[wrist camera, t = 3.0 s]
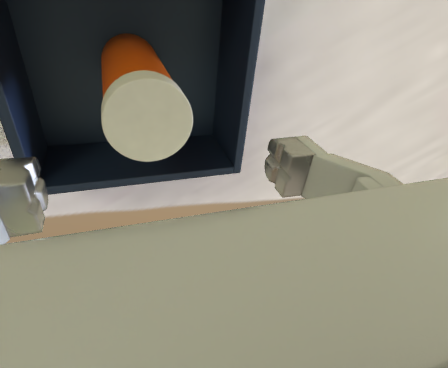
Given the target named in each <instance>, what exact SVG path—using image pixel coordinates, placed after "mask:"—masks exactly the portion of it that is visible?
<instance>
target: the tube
mask: <svg viewBox="0 0 448 368" xmlns="http://www.w3.org/2000/svg"><path fill="white" fill-rule="evenodd" d="M101 69H102V90H103V100H102V104H101V121H102V128H103V132H104V135H105V137H106V139H107V140H108V142H109V143H110V145H111V146H112V147H113V148H114V149H115V150H116V151H118V152H119V153H120V154H122V155H124V156H125V157H128V158H130V159H133V160H137V161H144V162H151V161H158V160H162V159H165V158H167V157H169V156H171V155H173V154H174V153H176V152H177V151H178V150H179V149H181V147H182V146H183V145H184V144H185V143H186V141H187V140H188V138H189V136H190V133H191V130H192V126H193V113H192V109H191V106H190V103H189V101H188V100H187V98H186V96H185V95H184V93H183V92H182V90H181V89H180V87H179V86H178V85H177V84H176V83H175V82H174V81H173V80H172V78H171V77H170V75H169V73H168V72H167V70H166V69H165V67H164V65H163V64H162V62H161V61H160V59H159V57H158V56H157V54H156V53H155V51H154V49H153V48H152V46H151V45H150V44H149V43H148V42H147V41H146V40H144V39H143V38H141V37H139V36H137V35H134V34H120V35H117V36H115V37H113V38H111V39H110V40H109V41H108V42H107V43H106V44H105V46H104V48H103V51H102V54H101Z"/></svg>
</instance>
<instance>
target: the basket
mask: <svg viewBox="0 0 448 368" xmlns="http://www.w3.org/2000/svg"><path fill="white" fill-rule="evenodd" d="M264 5H265V0H0V121H1V124H2V126H3V129H4V132H5V135H6V137H7V140H8V143H9V146H10V148H11V151H12V154H13V157H14V158H23V157H36V158H37V159H38V162H39V164H40V167H41V171H40V175H39V177H40V178H42V179H43V180H44V181H45V183H46V187H47V192H48V195H49V194H57V193H66V192H75V191H84V190H92V189H101V188H110V187H119V186H127V185H136V184H145V183H154V182H162V181H171V180H180V179H189V178H197V177H206V176H215V175H224V174H232V173H240V171H241V164H242V157H243V150H244V143H245V136H246V129H247V122H248V116H249V109H250V102H251V95H252V88H253V81H254V74H255V67H256V60H257V53H258V46H259V40H260V33H261V26H262V19H263V12H264ZM120 34H134V35H137V36H139V37H141V38H143V39H144V40H146V41H147V42H148V43H149V44H150V45H151V46H152V48H153V49H154V51H155V53H156V54H157V56H158V57H159V59H160V61H161V62H162V64H163V65H164V67H165V69H166V70H167V72H168V73H169V75H170V77H171V78H172V80H173V81H174V82H175V83H176V84H177V85H178V86H179V87H180V89H181V90H182V92H183V93H184V95H185V96H186V98H187V100H188V101H189V103H190V106H191V109H192V113H193V126H192V130H191V133H190V136H189V138H188V140H187V141H186V143H185V144H184V145H183V146H182V147H181V149H179V150H178V151H177V152H176V153H174V154H173V155H171V156H169V157H167V158H165V159H162V160H158V161H151V162H144V161H137V160H133V159H130V158H128V157H125V156H124V155H122V154H120V153H119V152H118V151H116V150H115V149H114V148H113V147H112V146H111V145H110V143H109V142H108V140H107V139H106V137H105V135H104V132H103V128H102V121H101V104H102V100H103V90H102V69H101V54H102V51H103V48H104V46H105V44H106V43H107V42H108V41H109V40H110V39H111V38H113V37H115V36H117V35H120Z"/></svg>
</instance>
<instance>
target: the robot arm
mask: <svg viewBox="0 0 448 368" xmlns="http://www.w3.org/2000/svg"><path fill="white" fill-rule="evenodd" d="M268 151H269V153H270V155H269V156H268V157H267V158H266V160H265V173H266V176H267V178H268V179H269V181H271V182H273V183H275V189H276V190H277V191H278V192H279V194H280V195H281V196H282V198H283V197H291V196H300V195H302V197H304V198H305V199H302V200H295V201H288V202H282V203H276V204H269V205H261V206H255V207H249V208H242V209H235V210H229V211H222V212H215V213H208V214H201V215H195V216H188V217H181V218H175V219H168V220H161V221H155V222H148V223H142V224H135V225H128V226H121V227H115V228H108V229H102V230H94V231H88V232H81V233H74V234H69V235H61V236H54V237H48V238H41V239H34V240H28V241H21V242H15V243H8V244H5V243H6V242H7V241H8V240H9V239H10V237H16V236H21V235H28V234H33V233H39V232H42V229H43V225H44V220H45V216H44V213H43V211H45V210H46V209H47V206H48V192H47V187H46V183H45V181H44V180H43V179H42V178H40V177H39V175H40V171H41V167H40V164H39V162H38V159H37V158H36V157H23V158H6V159H0V368H448V178H442V179H435V180H429V181H422V182H415V183H409V184H403V183H401V182H400V181H399V180H397V179H396V178H395V177H393V176H392V175H391V174H389V173H387V172H384V171H381V170H379V169H376V168H373V167H370V166H367V165H364V164H361V163H358V162H355V161H352V160H349V159H346V158H343V157H340V156H337V155H334V154H328V153H327V152H326V151H324V150H323V149H322V148H321V147H320V146H318V145H317V144H316V143H315V142H314V141H312V140H311V139H310V138H309V137H308V136H298V137H287V138H277V139H271V140H270V142H269V145H268Z"/></svg>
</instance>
